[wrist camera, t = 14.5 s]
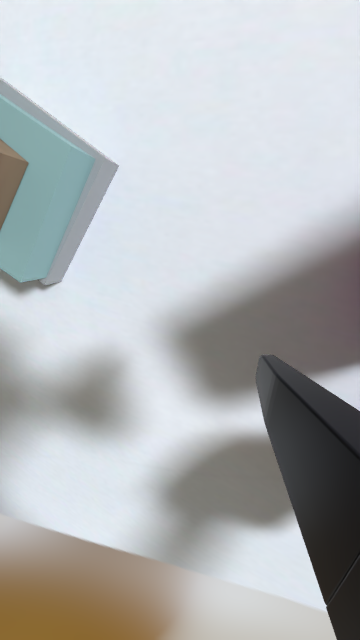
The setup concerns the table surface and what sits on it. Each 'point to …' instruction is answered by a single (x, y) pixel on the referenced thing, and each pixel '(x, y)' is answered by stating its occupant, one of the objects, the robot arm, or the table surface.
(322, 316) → the table surface
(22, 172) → the walnut block
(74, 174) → the teal top slab
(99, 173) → the grey base slab
